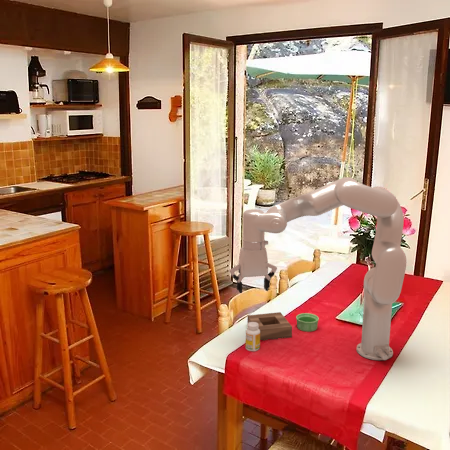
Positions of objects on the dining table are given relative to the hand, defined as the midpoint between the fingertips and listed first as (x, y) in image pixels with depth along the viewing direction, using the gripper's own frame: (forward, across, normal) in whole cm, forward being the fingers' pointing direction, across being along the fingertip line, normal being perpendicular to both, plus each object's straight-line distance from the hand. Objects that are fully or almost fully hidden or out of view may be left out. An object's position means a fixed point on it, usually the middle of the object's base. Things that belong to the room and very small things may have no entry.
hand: (253, 290), depth 175 cm
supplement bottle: (+23, 0, 0) cm, 23 cm away
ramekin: (+23, -26, -12) cm, 37 cm away
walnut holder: (+22, -10, -12) cm, 27 cm away
